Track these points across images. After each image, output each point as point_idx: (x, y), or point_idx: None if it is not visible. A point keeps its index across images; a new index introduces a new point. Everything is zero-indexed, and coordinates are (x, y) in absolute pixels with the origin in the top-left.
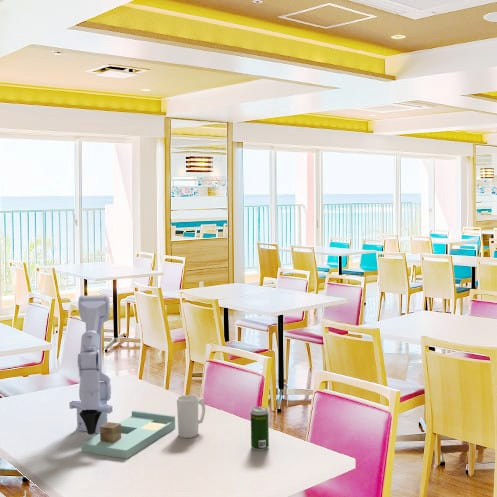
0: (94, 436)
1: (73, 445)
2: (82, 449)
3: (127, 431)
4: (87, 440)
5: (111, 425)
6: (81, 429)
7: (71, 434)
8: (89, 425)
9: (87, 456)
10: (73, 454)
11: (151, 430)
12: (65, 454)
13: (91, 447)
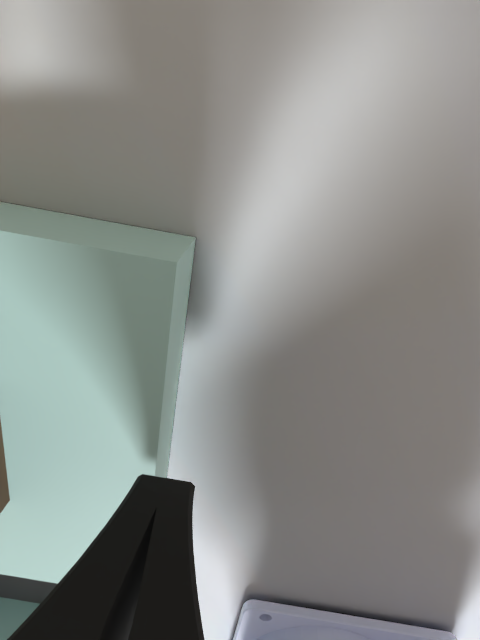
0: None
1: (357, 377)
2: (178, 242)
3: None
4: (155, 370)
5: None
6: (407, 634)
7: (463, 571)
8: (100, 593)
9: (47, 104)
10: (245, 133)
11: None
12: (345, 111)
13: (27, 226)
